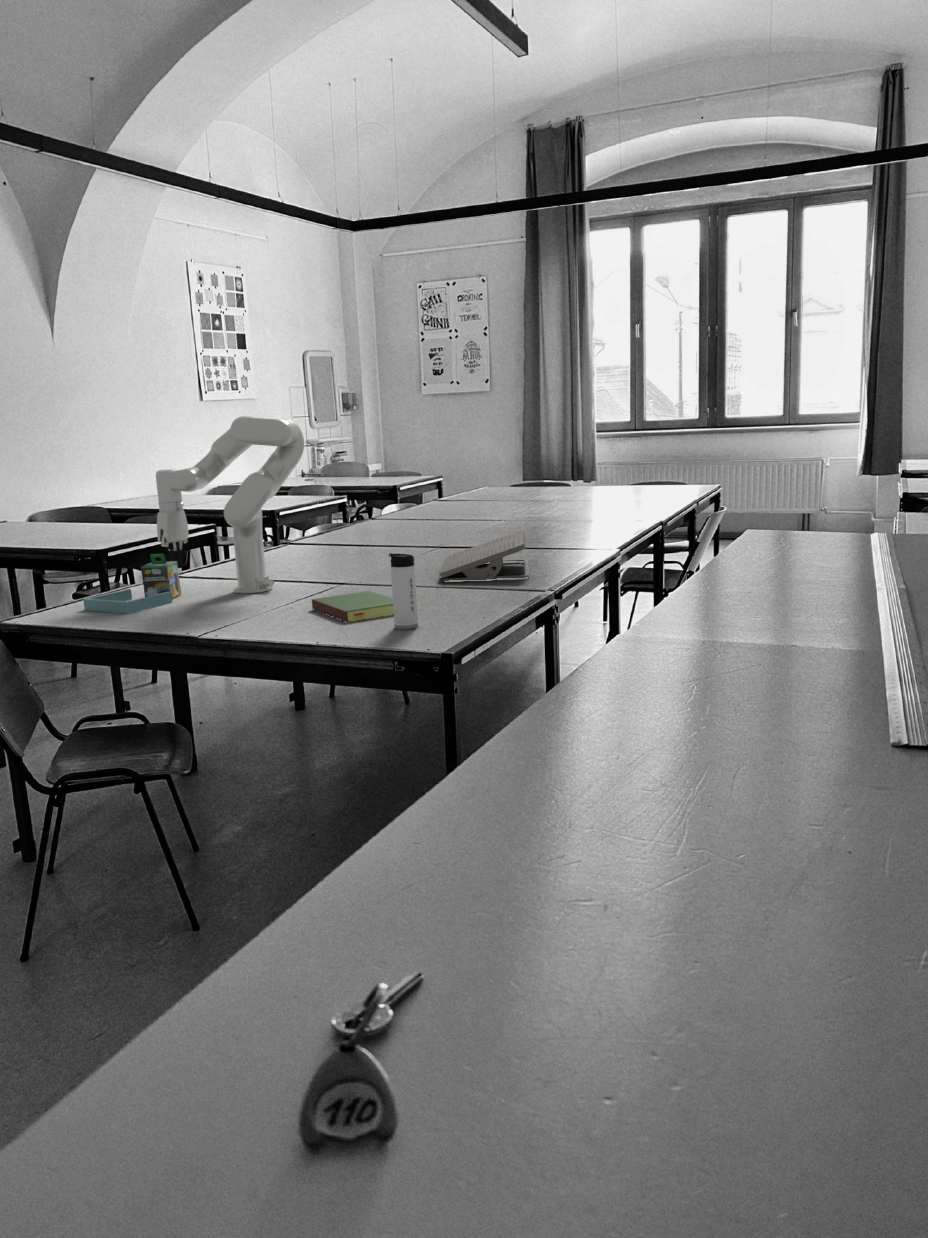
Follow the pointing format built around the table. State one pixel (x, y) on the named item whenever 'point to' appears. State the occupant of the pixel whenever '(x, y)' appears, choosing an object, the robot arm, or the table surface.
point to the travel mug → (404, 591)
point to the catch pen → (119, 605)
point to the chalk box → (161, 577)
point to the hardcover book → (355, 606)
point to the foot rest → (485, 559)
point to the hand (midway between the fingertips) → (176, 562)
